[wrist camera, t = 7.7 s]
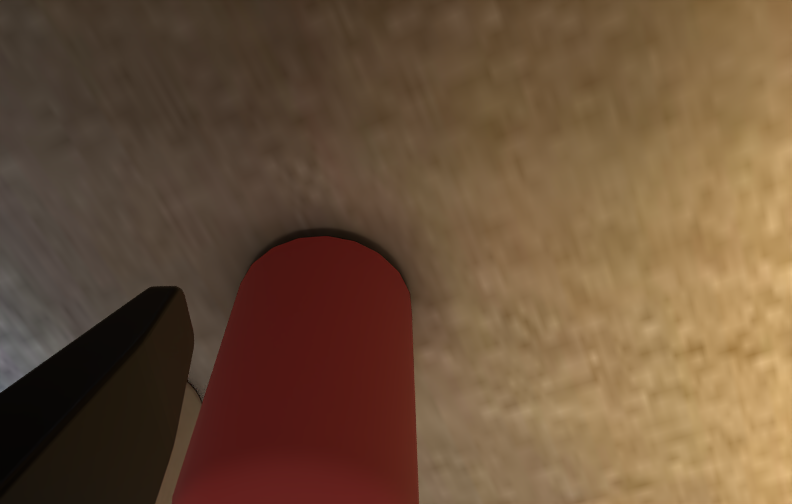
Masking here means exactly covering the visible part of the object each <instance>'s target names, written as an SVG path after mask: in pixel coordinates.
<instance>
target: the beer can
mask: <svg viewBox="0 0 792 504" xmlns="http://www.w3.org/2000/svg"><path fill="white" fill-rule="evenodd" d="M172 504H419V492H418V465H417V439H416V412H415V385H414V359H413V332H412V311H411V300H410V292H409V291H408V289H407V287H406V285H405V283H404V281H403V279H402V277H401V275H400V273H399V272H398V271H397V270H396V269H395V268H394V267H393V266H392V265H391V264H390V263H389V262H388V261H387V260H386V259H385V258H383V257H382V256H381V255H380V254H379V253H377V252H375V251H373V250H371V249H369V248H367V247H365V246H363V245H361V244H359V243H357V242H355V241H351V240H346V239H341V238H335V237H330V236H319V237H305V238H297V239H295V240H292V241H289V242H287V243H284V244H281V245H279V246H276V247H273V248H272V249H270V250H269V251H268V252H267V253H265V254H264V255H263V256H262V257H260V258H259V259H258V260H257V261H255V262H254V263H253V264H252V265H251V267H250V268H249V270H248V272H247V274H246V275H245V277H244V279H243V280H242V282H241V284H240V287H239V290H238V293H237V296H236V299H235V302H234V305H233V309H232V312H231V315H230V318H229V321H228V324H227V327H226V330H225V334H224V337H223V340H222V343H221V346H220V349H219V352H218V355H217V359H216V362H215V365H214V368H213V371H212V374H211V377H210V380H209V384H208V387H207V390H206V393H205V396H204V399H203V402H202V405H201V409H200V412H199V415H198V418H197V421H196V424H195V427H194V430H193V434H192V437H191V440H190V443H189V446H188V449H187V452H186V455H185V459H184V462H183V465H182V468H181V471H180V474H179V477H178V480H177V484H176V487H175V490H174V493H173V496H172Z"/></svg>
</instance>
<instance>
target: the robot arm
mask: <svg viewBox="0 0 792 504" xmlns="http://www.w3.org/2000/svg"><path fill="white" fill-rule="evenodd" d="M193 348H194V333H193V328H192V324H191V320H190V315H189V311H188V307H187V303H186V299H185V295H184V293H183V291H182V289H181V288H179V287H177V286H155V287H150V288H148V289H146V290H145V291H143V292H142V293H141V294H139V295H138V296H136V297H135V298H134V299H132V300H131V301H129V302H128V303H126V304H125V305H124V306H122V307H121V308H119V309H118V310H117V311H115V312H114V313H112V314H111V315H110V316H108V317H107V318H105V319H104V320H102V321H101V322H100V323H98V324H97V325H95V326H94V327H93V328H91V329H90V330H88V331H87V332H86V333H84V334H83V335H81V336H80V337H79V338H77V339H76V340H74V341H73V342H71V343H70V344H69V345H67V346H66V347H64V348H63V349H62V350H60V351H59V352H57V353H56V354H55V355H53V356H52V357H50V358H49V359H47V360H46V361H45V362H43V363H42V364H40V365H39V366H38V367H36V368H35V369H33V370H32V371H31V372H29V373H28V374H26V375H25V376H24V377H22V378H21V379H19V380H18V381H16V382H15V383H14V384H12V385H11V386H9V387H8V388H7V389H5V390H4V391H2V392H1V393H0V504H155V503H156V500H157V497H158V494H159V491H160V488H161V485H162V482H163V479H164V476H165V473H166V469H167V466H168V463H169V460H170V457H171V453H172V450H173V447H174V443H175V439H176V434H177V430H178V425H179V420H180V414H181V409H182V404H183V399H184V394H185V389H186V384H187V379H188V374H189V369H190V364H191V358H192V353H193Z"/></svg>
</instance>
